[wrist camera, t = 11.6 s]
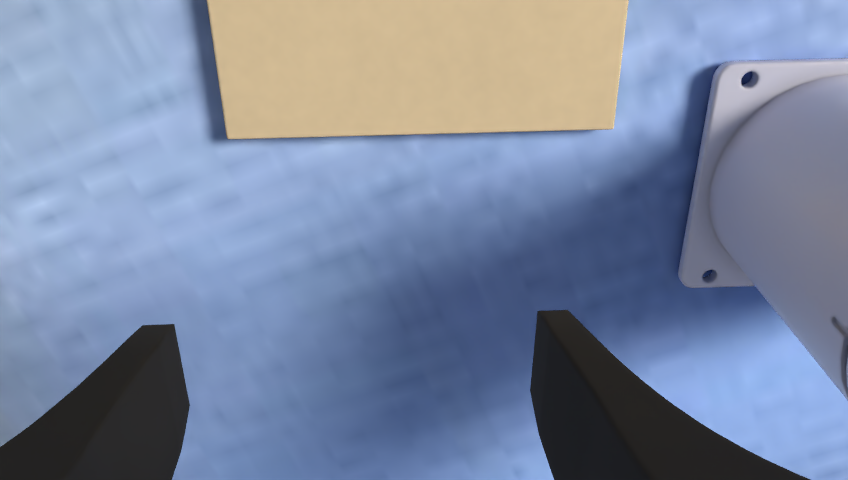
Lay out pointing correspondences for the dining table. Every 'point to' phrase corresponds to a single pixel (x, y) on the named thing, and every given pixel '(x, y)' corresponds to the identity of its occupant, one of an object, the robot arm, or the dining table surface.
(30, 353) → the dining table surface
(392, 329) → the dining table surface
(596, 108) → the cutting board
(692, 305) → the dining table surface
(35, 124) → the dining table surface
